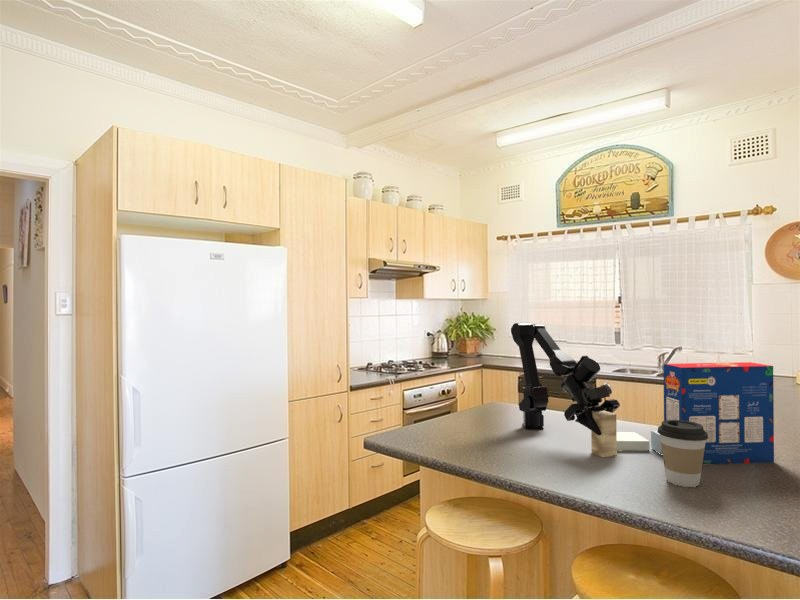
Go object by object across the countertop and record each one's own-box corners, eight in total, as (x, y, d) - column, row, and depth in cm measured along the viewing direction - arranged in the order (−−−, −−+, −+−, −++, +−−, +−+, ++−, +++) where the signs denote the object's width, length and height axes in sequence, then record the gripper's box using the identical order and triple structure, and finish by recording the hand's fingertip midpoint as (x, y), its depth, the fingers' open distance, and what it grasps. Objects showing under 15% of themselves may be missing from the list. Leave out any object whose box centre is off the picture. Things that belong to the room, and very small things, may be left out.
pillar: (591, 453, 144) (591, 412, 144) (604, 450, 146) (604, 410, 146) (603, 457, 140) (602, 415, 140) (616, 455, 142) (616, 413, 142)
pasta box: (751, 453, 143) (750, 362, 143) (774, 462, 135) (773, 365, 135) (664, 456, 141) (663, 363, 141) (682, 465, 133) (681, 367, 133)
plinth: (617, 452, 146) (616, 441, 146) (604, 442, 156) (604, 432, 156) (649, 452, 145) (649, 441, 145) (634, 442, 155) (634, 432, 155)
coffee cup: (662, 471, 128) (661, 416, 128) (711, 480, 121) (711, 423, 121) (653, 483, 120) (652, 425, 120) (706, 495, 112) (705, 432, 112)
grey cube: (661, 455, 141) (661, 436, 141) (651, 449, 147) (651, 430, 147) (681, 455, 141) (681, 435, 141) (670, 449, 147) (670, 430, 147)
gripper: (570, 378, 143) (599, 422, 133) (615, 374, 150) (645, 415, 140) (552, 398, 150) (578, 442, 140) (596, 394, 157) (623, 435, 147)
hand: (607, 433), depth 142 cm, fingers closed on pillar, 5 cm apart
